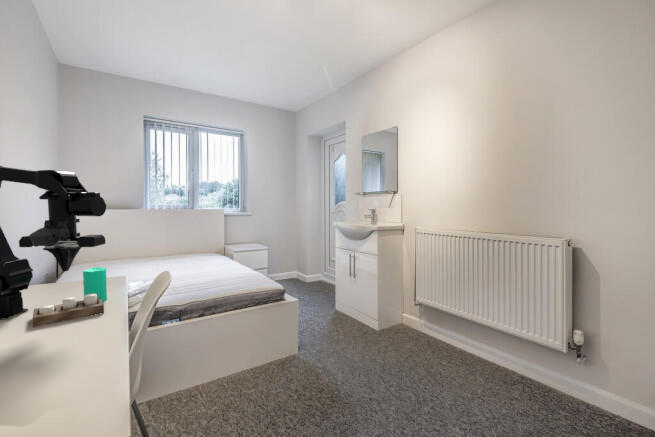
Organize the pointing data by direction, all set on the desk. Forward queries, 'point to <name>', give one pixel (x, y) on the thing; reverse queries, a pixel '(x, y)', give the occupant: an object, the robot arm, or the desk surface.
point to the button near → (46, 309)
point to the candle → (95, 282)
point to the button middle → (69, 303)
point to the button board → (67, 313)
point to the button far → (90, 299)
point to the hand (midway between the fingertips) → (65, 270)
